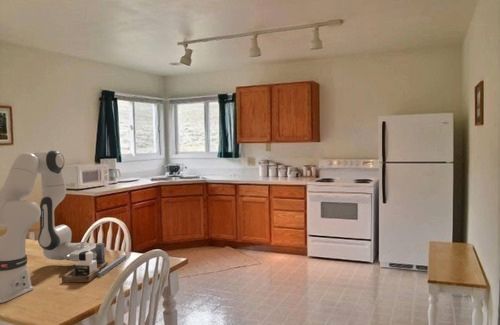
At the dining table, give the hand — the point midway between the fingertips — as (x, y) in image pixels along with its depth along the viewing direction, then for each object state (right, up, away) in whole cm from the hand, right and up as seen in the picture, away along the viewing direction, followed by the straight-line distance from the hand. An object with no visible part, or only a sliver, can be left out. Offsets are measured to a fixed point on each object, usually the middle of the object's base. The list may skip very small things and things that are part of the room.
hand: (100, 252), depth 201 cm
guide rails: (0, -7, -1) cm, 7 cm away
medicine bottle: (-1, -8, -16) cm, 18 cm away
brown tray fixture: (-1, -8, -10) cm, 13 cm away
